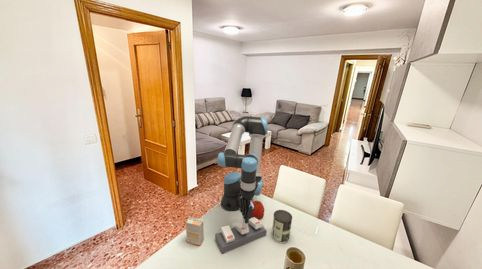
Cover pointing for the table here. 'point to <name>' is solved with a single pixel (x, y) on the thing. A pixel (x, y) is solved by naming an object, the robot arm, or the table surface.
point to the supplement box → (195, 231)
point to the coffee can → (281, 226)
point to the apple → (258, 210)
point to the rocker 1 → (227, 234)
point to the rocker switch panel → (239, 238)
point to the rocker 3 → (255, 223)
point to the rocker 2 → (241, 228)
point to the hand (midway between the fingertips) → (245, 226)
